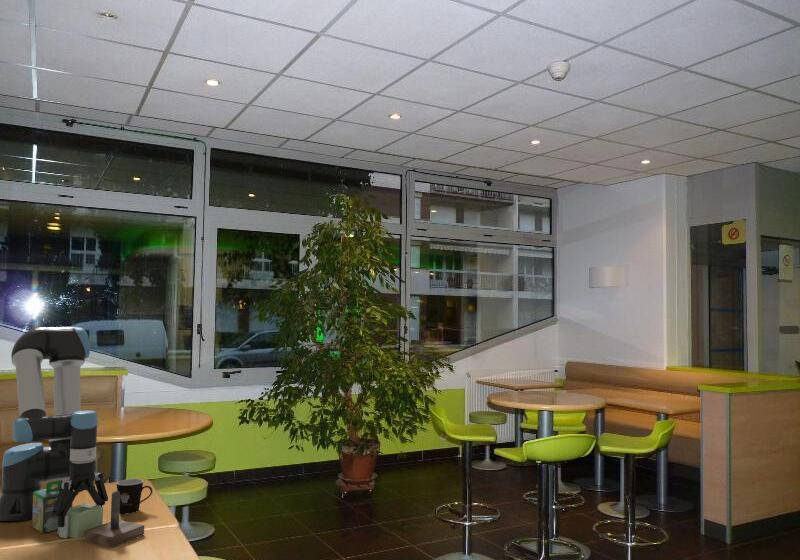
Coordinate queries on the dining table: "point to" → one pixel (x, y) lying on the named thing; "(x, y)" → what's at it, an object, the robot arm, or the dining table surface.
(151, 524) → the dining table surface
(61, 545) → the dining table surface
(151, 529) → the dining table surface
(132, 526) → the rod stand
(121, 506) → the coffee mug
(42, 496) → the chalk box
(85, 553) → the dining table surface
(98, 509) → the green square socket block
